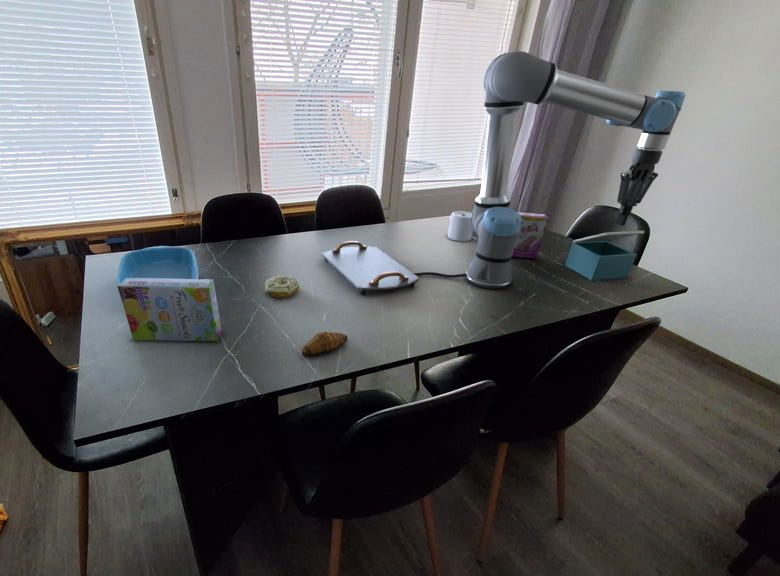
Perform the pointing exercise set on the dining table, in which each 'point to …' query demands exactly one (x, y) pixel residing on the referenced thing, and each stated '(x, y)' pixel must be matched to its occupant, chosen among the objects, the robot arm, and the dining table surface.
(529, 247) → the candy bar box
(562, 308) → the dining table surface
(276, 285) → the decorated donut
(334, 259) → the serving tray
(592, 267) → the tote
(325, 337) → the croissant
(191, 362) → the dining table surface
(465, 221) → the toilet tissue
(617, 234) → the lid
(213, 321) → the snack box
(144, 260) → the casserole dish
